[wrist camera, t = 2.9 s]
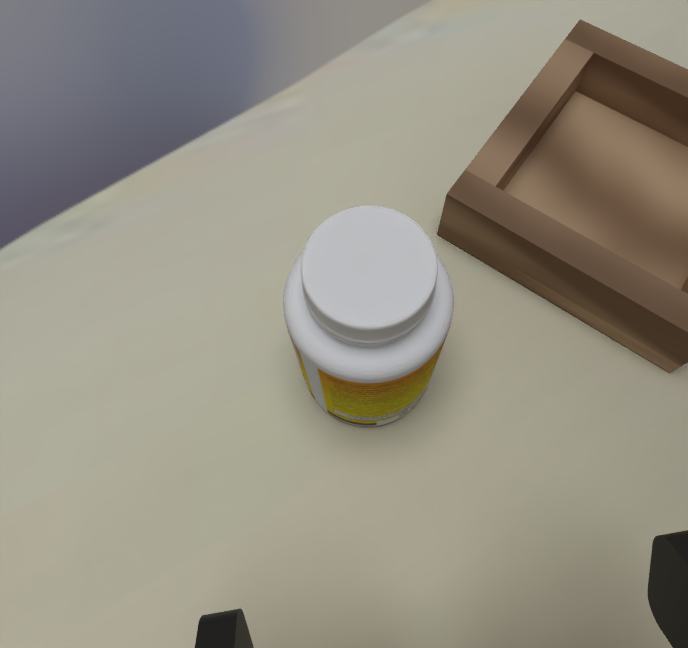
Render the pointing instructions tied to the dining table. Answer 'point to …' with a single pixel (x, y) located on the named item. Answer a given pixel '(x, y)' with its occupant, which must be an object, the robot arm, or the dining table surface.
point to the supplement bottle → (368, 313)
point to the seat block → (590, 193)
